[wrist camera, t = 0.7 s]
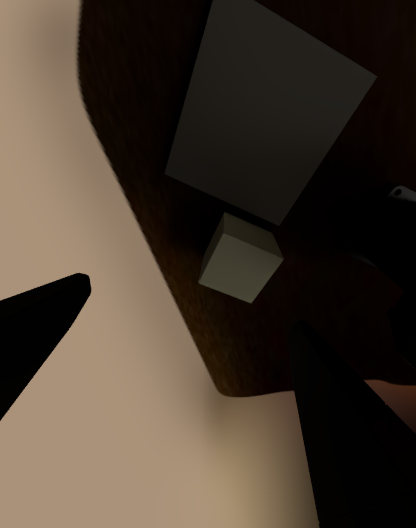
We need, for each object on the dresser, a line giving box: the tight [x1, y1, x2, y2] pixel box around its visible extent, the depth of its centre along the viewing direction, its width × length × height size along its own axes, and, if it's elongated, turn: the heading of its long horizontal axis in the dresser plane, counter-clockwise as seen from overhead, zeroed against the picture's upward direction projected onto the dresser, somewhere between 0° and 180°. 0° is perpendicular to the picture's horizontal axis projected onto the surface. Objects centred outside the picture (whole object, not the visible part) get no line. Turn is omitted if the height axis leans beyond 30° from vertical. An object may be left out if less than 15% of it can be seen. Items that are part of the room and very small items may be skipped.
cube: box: [198, 212, 284, 303], centre depth 19 cm, size 5×5×5 cm
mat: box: [164, 0, 377, 226], centre depth 15 cm, size 11×11×1 cm
